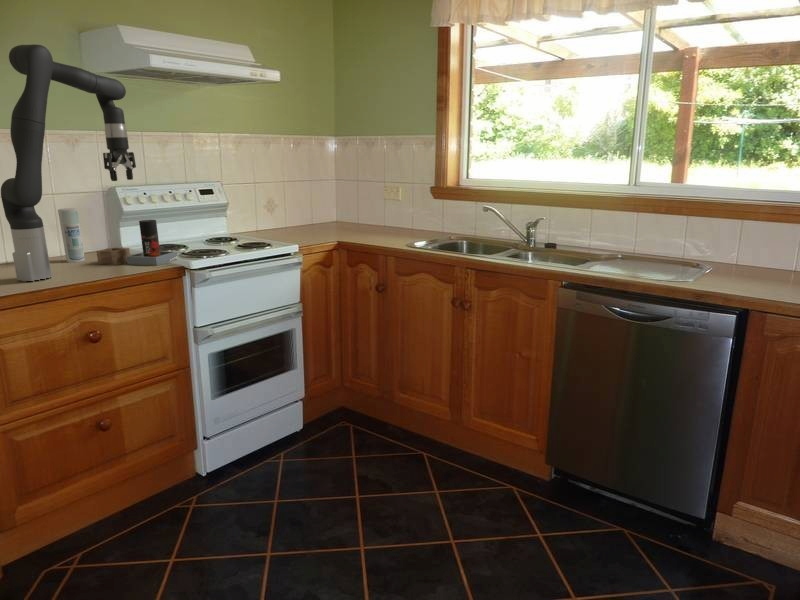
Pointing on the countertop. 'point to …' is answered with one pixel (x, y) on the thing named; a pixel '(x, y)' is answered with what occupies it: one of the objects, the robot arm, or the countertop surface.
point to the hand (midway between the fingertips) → (122, 180)
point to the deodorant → (149, 238)
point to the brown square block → (113, 255)
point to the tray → (151, 258)
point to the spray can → (71, 234)
